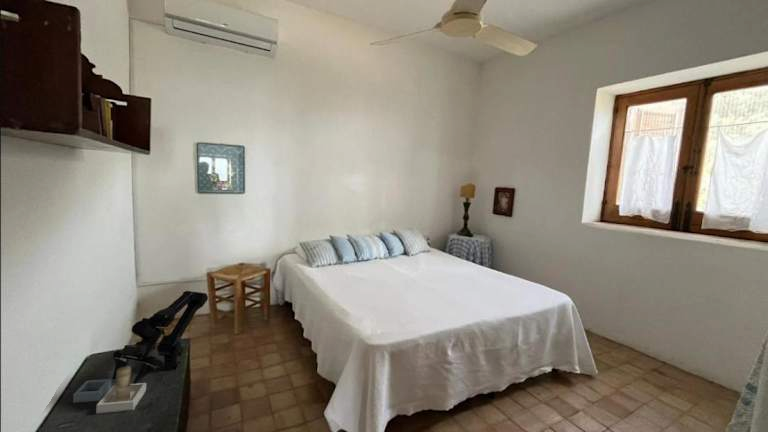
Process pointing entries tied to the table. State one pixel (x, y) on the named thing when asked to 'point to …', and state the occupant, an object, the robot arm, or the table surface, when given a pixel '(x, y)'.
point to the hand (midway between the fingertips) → (123, 381)
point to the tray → (111, 405)
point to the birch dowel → (123, 384)
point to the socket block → (86, 395)
